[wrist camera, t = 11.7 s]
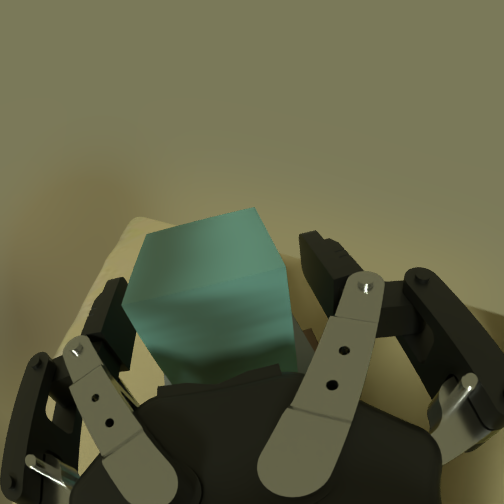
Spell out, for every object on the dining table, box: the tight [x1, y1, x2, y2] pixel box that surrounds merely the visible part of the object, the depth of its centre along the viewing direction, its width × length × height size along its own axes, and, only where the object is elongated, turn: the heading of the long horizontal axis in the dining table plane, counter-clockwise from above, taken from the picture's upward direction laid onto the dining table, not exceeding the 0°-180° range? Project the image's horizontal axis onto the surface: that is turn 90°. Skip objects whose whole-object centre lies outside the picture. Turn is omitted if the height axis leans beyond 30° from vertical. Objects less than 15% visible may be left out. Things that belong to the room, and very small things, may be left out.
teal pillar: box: [122, 207, 298, 385], centre depth 12 cm, size 5×5×10 cm
